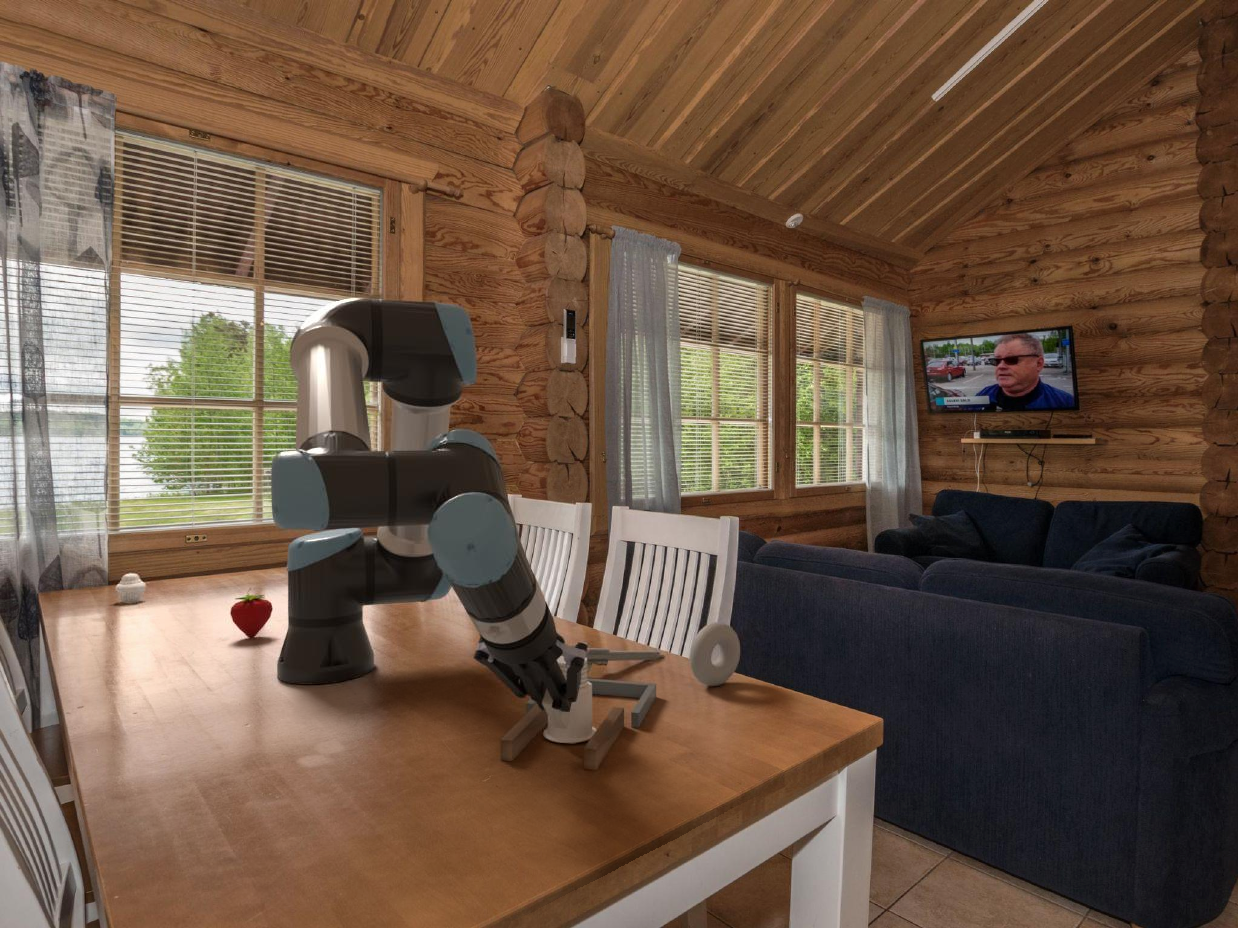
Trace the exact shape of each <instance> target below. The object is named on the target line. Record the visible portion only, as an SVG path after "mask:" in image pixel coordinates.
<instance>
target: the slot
mask: <svg viewBox="0 0 1238 928" xmlns="http://www.w3.org/2000/svg"><path fill="white" fill-rule="evenodd" d="M546 725H548V714H547V712H546V710H541V709H540V708H539V706H538V704H536V705H535V706H534V707H533V708H532V709H531V710H530V711H529V712H528V713H527V714H526V713H525V715H524V716H523V717H521V719H520V720H519V721H518V722H517V723H516V724H515V725H514V726H513V727H512V728H510V730H508V732H507V733H505V735H504V736H503V737H501V738H500V761H507V762H513V761H514V760H516V758H517V757H518V756H519V755H520V753H521V752H522V751H523V750H524V749H525V748H526V747H527V746H528V745H529V743H530V742H531V741H532V740H533V739H535V737H536V736H537V735H538V734H539V732H540V731H541V730H543V728H544V727H545V726H546ZM624 727H625V707H616V706H613V707H612V708H611V710H610V711H609V712H608V714H607V715H606V716H605V718H604V720H603V721H602V722H601V724H599V726H598V728H597V729H596V730H597V731H596V732H595V733H594V735H593V736H592V738H591V739H589V740H588V741H587V743H586V745H585V746H584V748H583V769H584V770H590V771H597V770H598V768H599V767H600V766H601V763H602V762H603V760H604V759H605V757H606V756H607V755H608V753H609V751H610V749H611V748H612V747H613V745H614V743H615V741H616V740H617V739H618V737H619V736H620V734H621V732H622V730H623V729H624Z"/></svg>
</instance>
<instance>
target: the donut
mask: <svg viewBox="0 0 1238 928" xmlns="http://www.w3.org/2000/svg"><path fill="white" fill-rule="evenodd" d="M740 643H741V642H740V640H739V637H738V634H737V632H736V631H735V630H734V629H733V627H732V626H730V625H729V624H727V623H724V622H721V621H719V622H718V621H717V622H715V621H714V622H711V623H709V624H706V625H704V626H703V628H701V629H700V630H699V631H698V632H697V634H696V635H695V637H694V639H693V641H692V645H691V647H690V651H689V652H690V653H689V663H690V664H689V665H690V669H691V671H692V673H693V676H694V677H695V678H696V679H697V680H698V682H699V683H700V684H703V685H706V686H708V687H715V686H721V685H722V684H724V683H726V682H727V681H728V680H729V679H730V678H731V677H732V676H733V675H734V673H735V671H736V670H737V668H738V665H739V662H740V656H741V645H740ZM716 646H719V648H718V649H719V651H718V655H717V658H716V660H715V661H714V662H712V657H713V652H714V649H715V647H716Z"/></svg>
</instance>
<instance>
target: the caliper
mask: <svg viewBox="0 0 1238 928" xmlns="http://www.w3.org/2000/svg"><path fill="white" fill-rule="evenodd" d="M578 643H584V644H586V645H587V646H589V643H588V642H586V641H583V642H580V641H578V642H577V644H578ZM586 658H587V677H588V675H589V674H590V670H591V668H592V665H593V664H594V665H597V666H608V662H611V661H654V660H659V659H660V658H665V654H662V653H661V652H660V651H658V650H610V649H609V648H605V647H604V648H603V647H601V648H600V647H598V648H596V647H588V648H587V652H586Z"/></svg>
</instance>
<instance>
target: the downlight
mask: <svg viewBox="0 0 1238 928" xmlns="http://www.w3.org/2000/svg"><path fill="white" fill-rule="evenodd" d="M557 662H558V664H559V666H560V668H561V670H562V672H563V675H564V677H565V679H566V681H567V669H568V668H567V667H565V664H566V662H565V661H564V657H563V656H562V655H561V656H560V657H559V658H558V659H557ZM587 678H588V676H587V658H586V657H585V661H584V666H583V668H582V669H581V683H580V687H579V692H578V696H577V701H576V702H572V704H571V712H570V717H569V721H568V725H567V729H561V728H555V727H554V725H553V724H552V722H551V720H550V718H549V716H548V722H547V728H546V729H545V730H543V737H544V738H545V739H546V740H548V741H551V742H555V743H561V744H562V743H563V744H564V743H565V744H569V745H570V744H571V745H572V744H577V743H581V742H586V741H587V742H588V741H589V740H590V739H591V738H592V736H593V735H594V733H595V732H596V731H597V729H596V727H594V726H593V694H592V684H591V683H590V682H588V681H587Z"/></svg>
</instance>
